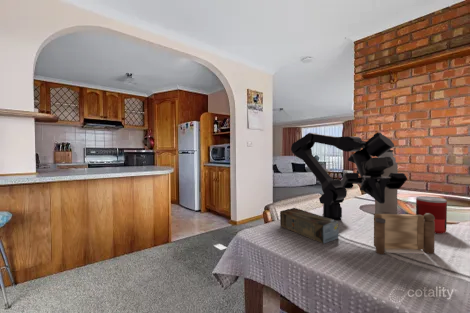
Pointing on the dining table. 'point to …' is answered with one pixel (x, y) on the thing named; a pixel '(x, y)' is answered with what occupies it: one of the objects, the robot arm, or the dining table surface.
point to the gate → (402, 231)
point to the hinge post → (429, 233)
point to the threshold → (403, 251)
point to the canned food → (433, 211)
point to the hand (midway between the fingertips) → (382, 202)
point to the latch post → (380, 235)
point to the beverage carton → (309, 225)
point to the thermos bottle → (388, 190)
